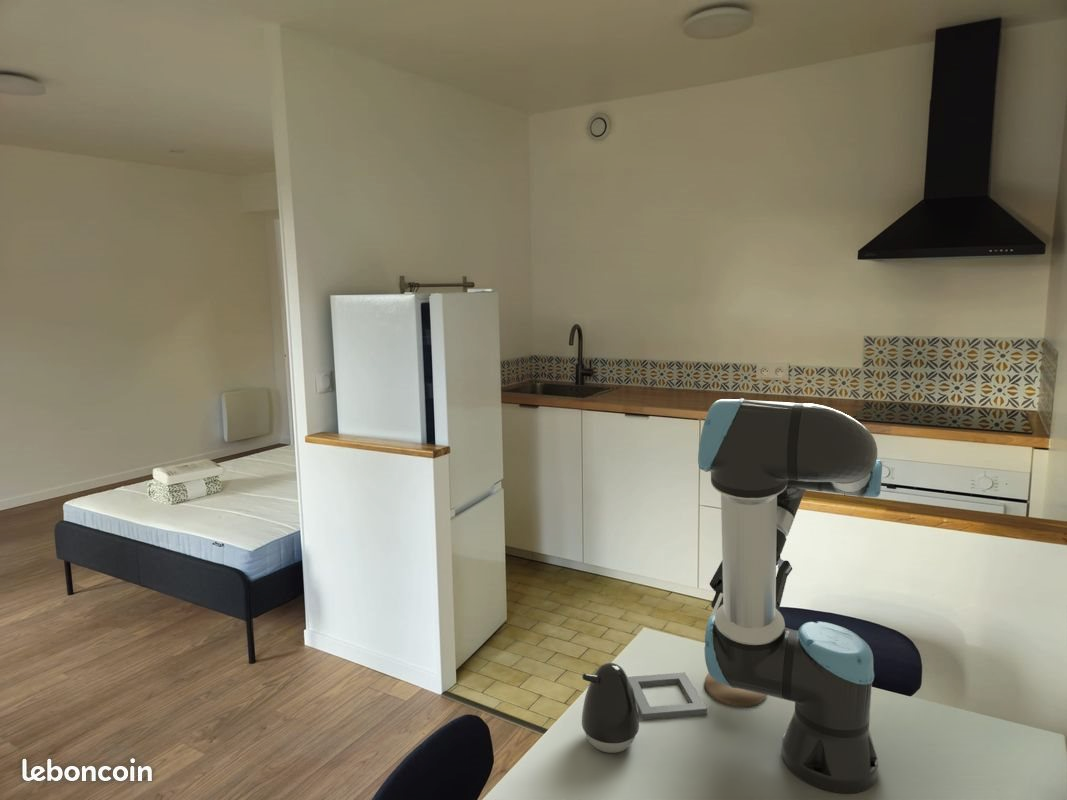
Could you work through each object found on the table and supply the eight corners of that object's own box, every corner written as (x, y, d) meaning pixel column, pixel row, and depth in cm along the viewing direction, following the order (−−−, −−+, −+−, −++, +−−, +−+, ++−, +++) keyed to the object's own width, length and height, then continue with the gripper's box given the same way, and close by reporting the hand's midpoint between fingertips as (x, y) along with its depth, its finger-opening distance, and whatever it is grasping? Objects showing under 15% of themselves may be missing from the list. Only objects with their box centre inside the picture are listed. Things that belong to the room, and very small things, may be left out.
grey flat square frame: (706, 714, 133) (707, 708, 132) (642, 719, 131) (642, 714, 131) (684, 677, 145) (685, 672, 145) (626, 682, 143) (626, 677, 143)
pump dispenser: (572, 731, 128) (572, 655, 125) (624, 720, 131) (624, 646, 128) (593, 767, 118) (593, 686, 116) (648, 755, 121) (650, 675, 119)
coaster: (776, 703, 136) (777, 699, 135) (717, 708, 134) (717, 704, 134) (750, 670, 147) (750, 666, 147) (696, 674, 146) (696, 670, 146)
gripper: (820, 550, 141) (783, 656, 132) (731, 528, 154) (691, 623, 145) (812, 532, 136) (772, 641, 127) (720, 511, 149) (678, 608, 140)
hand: (729, 631), depth 136 cm, fingers closed on supplement bottle, 7 cm apart
